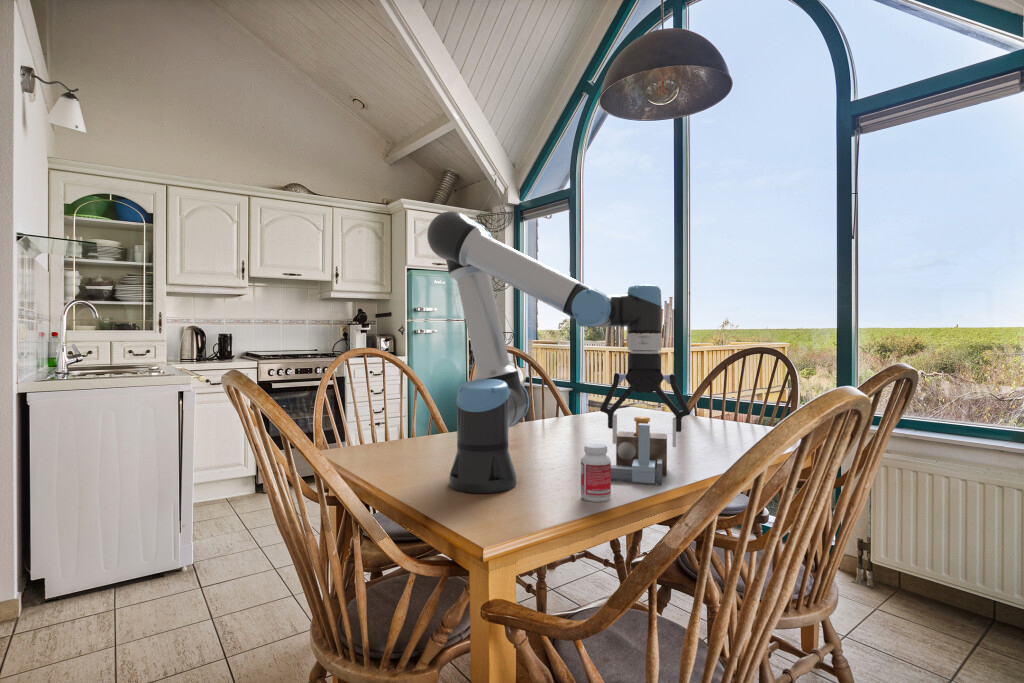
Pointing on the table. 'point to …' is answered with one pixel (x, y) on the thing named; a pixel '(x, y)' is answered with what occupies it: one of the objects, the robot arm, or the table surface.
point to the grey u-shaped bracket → (626, 473)
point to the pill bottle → (595, 473)
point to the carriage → (643, 458)
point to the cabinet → (629, 449)
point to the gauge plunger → (640, 420)
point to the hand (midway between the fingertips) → (644, 444)
